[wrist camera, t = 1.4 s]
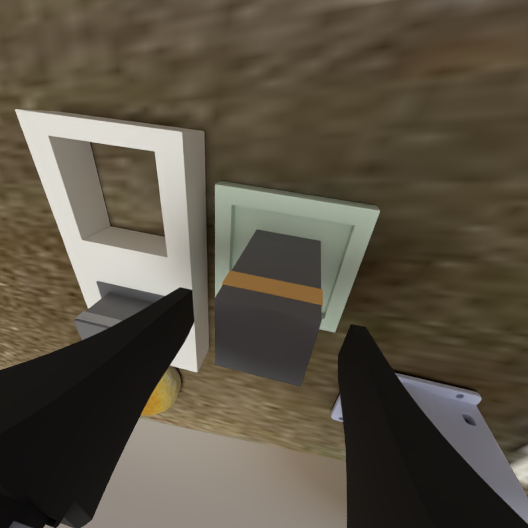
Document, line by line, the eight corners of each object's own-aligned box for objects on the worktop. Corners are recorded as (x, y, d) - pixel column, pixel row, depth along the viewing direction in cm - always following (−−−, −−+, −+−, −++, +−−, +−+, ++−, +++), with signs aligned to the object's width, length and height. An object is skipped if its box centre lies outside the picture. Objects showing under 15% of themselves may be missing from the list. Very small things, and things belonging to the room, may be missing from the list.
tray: (376, 205, 13) (380, 210, 12) (334, 322, 18) (335, 332, 17) (221, 180, 14) (215, 184, 13) (219, 297, 19) (215, 305, 18)
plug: (321, 240, 14) (323, 320, 8) (307, 293, 16) (301, 387, 11) (255, 228, 15) (213, 296, 9) (250, 281, 17) (213, 365, 11)
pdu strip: (204, 130, 13) (140, 133, 8) (209, 349, 22) (179, 408, 18) (60, 111, 14) (-68, 104, 9) (122, 327, 23) (73, 377, 19)
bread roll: (156, 398, 30) (135, 433, 26) (99, 352, 27) (67, 384, 24) (200, 383, 26) (183, 422, 23) (139, 328, 23) (109, 363, 20)
